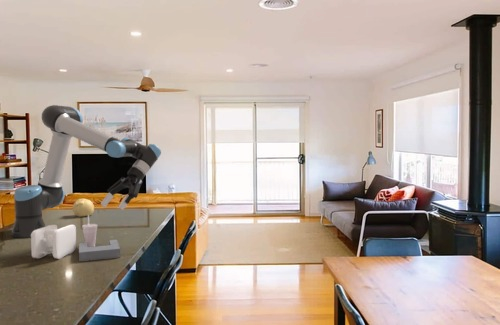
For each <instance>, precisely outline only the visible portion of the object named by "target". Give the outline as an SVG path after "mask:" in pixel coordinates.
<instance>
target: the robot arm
mask: <svg viewBox="0 0 500 325" xmlns="http://www.w3.org/2000/svg"><path fill="white" fill-rule="evenodd" d="M83 118H84V117H83V115H82V113H81V111H80V110H78V108H75V107H72V106H68V105H67V106H65V105H57V104H53V105H49V106H47V107H45V108H44V110H42V113H41V121H42V123H43V124H44V126H45V127H46V128H48V129H50V132H51V133H52V137H51V141H50V145H49V149H48V154H47V158H46V163H45V167H44V170H43V175H42V178H41V179H39V180H38V183H37V184H32V185H30V184H29V185H25V186H20V187H18V188H16V189H15V190H14V197H13V199H14V216H15V217H14V218H15V219H14V222H13V226H12V229H11V237H13V238H19V239H21V238H24V239H25V238H31V234H32V232H33V231H34V230H37V229H40V228H43V227H46V226H47V225H46V224H45V221H44V219H43V218H44V217H43V210H47V209H53V208H55V207H58V206H60V205H61V204H62V203H63V202H64V200H65V197H66V196H65V195H66V192H65V190H64V187H63V186H64V185H63V184H64V183H62V182H61V180H62V177H63V171H64V169H65V168H64V167H65V164H66V160H67V156H68V153H69V147H70V145H71V144H70V143H71V139H72V138H75V139H78V140H80V141H82V142H83V143H85V144H88V145H90V146H93V147H95V148H97V149H99V150H101V151H104V152H106V153H107V155H108V156H109V157H111V158H118V159H119V158H123V157H124V158H126V157H130V158H131V157H132V158H134V159H135V160H136V161H135V162H134V163H133V164H132V166H131V167H130V168H129V169H128V171H127V174H126V175H127V177H124V176H122V177H120V179H119V180H118V181H117V182H115V183H114V184H113V185H112V186H110V187H109V188H107V189H106V192H107V194H106V196H104V198H103V199H102V201H101V202H100V205H101V206H102V207H104V208H106V207H107V206H108V205H109V203H110V202H111V201H112V199H113V198H114V197H115V195H116V194H118V193H119V192H120V191H122V190H124V189H126V188H128V193H127V194H126V195H125V197H124V198H123V199H122V200H121V202H120V204H119V205H118V206H117V207H118V208H119V209H120V210H121V211H124V210H125V209H126V207H127V206H128V204H129V203H130V201H131V200H132V199H136V198H137V197H138V195H139V192H140V189H141V186H142V184H143V180H144V178H145V176H146V175H147V174H148V172H150V170H151V168H152V167H153V166H154V164H155V163H156V162H157V161H158V159H159V158H160V156H161V154H162V150H161V149H160V147H159V146H158V145H156V144H154V143H149V144H148V145H147V146H146V145H144V144H141V143H140V142H137V141H136V140H134V139H132V138H129V137H124V138H122V139H121V140H120V139H118V138H115V137H114V136H112V135H109V134H107V133H104V132H102V131H100V130H98V129H96V128H94V127H91V126H90V125H87V124H85V123H83V120H84V119H83Z"/></svg>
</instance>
